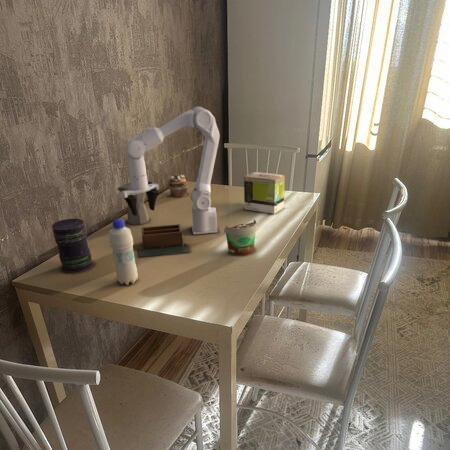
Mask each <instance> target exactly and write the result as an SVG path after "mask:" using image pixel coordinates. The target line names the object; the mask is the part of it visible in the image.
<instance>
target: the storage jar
mask: <svg viewBox="0 0 450 450" xmlns="http://www.w3.org/2000/svg"><path fill="white" fill-rule="evenodd" d="M51 229H52V233H53V238H54V242H55V244H56V245H57V250H58V257H59V261H60V264H61V266H62V270H63V272H65V273H67V274H77V273H82V272H85V271H87V270H89V269H91V268H92V267H93V265H94V264H93V263H94V262H93V259H92V253H91V249H90V247H89V244H88V234H87V229H86V227H85V222H84V220H83V219H80V218H66V219H62V220H57V221H55V222H54V223H52V224H51Z"/></svg>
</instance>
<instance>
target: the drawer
mask: <svg viewBox="0 0 450 450" xmlns="http://www.w3.org/2000/svg"><path fill="white" fill-rule="evenodd" d="M141 239H142V246H143V247H142V248H143V249H148V248H158V247H168V246H179V245H184V242H183V232H182V228H181V224H180V223H178V224H168V225H157V226H145V227H144V226H143V227H141Z"/></svg>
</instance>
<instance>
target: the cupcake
mask: <svg viewBox="0 0 450 450" xmlns="http://www.w3.org/2000/svg"><path fill="white" fill-rule="evenodd" d="M185 177H186V176H185V175H184V174H183V173H180V174H177V173H173V175H171V176H170V177H169V181H168V188H169V192H170V195H171V197H173V198H184V197H186V196H188V190H189V184H188V182H187V179H186V178H185Z"/></svg>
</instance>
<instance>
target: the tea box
mask: <svg viewBox="0 0 450 450" xmlns="http://www.w3.org/2000/svg"><path fill="white" fill-rule="evenodd" d="M285 176H286V175H285V174H279V173H270V172H260V171H254V172H251V173H249V174H247V175H244V176H243V201H244V203H243V205H244V206H243V207H244V210H246V211H254V212H261V213H267V214H272V215H275V214H276V213H278V212H280V211H282V210H283V209H284V206H285V184H286V183H285V181H286V180H285V179H286V178H285Z"/></svg>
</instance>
